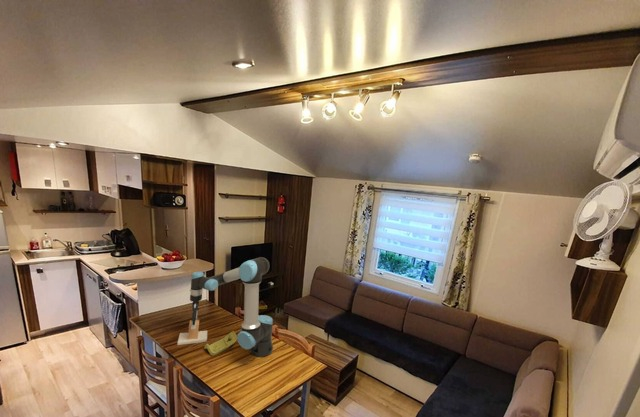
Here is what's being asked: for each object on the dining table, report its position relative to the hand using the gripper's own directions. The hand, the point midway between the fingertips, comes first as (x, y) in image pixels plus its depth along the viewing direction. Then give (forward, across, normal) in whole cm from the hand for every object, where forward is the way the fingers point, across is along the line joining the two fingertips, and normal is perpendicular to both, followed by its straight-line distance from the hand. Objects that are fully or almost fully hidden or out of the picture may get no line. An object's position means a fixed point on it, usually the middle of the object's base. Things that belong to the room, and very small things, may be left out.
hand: (194, 323), depth 182 cm
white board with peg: (+11, 0, 0) cm, 11 cm away
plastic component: (+11, +15, +18) cm, 26 cm away
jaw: (+9, 0, 0) cm, 9 cm away
